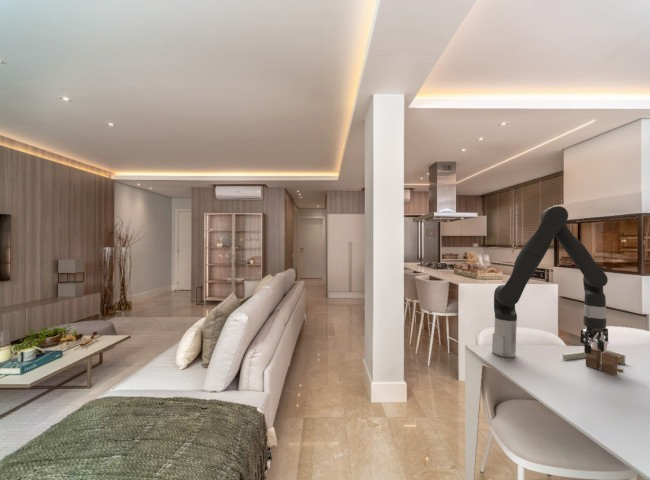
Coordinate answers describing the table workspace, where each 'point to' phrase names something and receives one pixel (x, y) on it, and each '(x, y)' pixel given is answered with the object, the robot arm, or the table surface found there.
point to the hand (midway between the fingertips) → (594, 352)
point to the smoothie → (594, 344)
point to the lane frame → (583, 354)
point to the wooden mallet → (596, 358)
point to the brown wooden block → (610, 364)
